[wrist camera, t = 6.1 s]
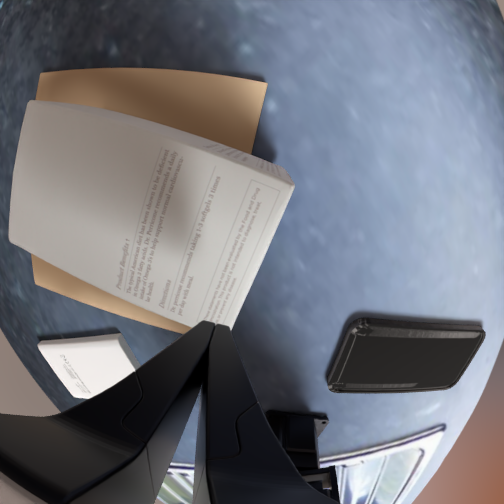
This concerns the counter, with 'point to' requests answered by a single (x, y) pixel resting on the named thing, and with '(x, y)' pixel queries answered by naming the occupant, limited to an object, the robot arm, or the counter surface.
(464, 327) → the phone
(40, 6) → the counter surface
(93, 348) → the external hard drive
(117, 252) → the supplement box
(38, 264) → the wooden cutting board
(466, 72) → the counter surface
